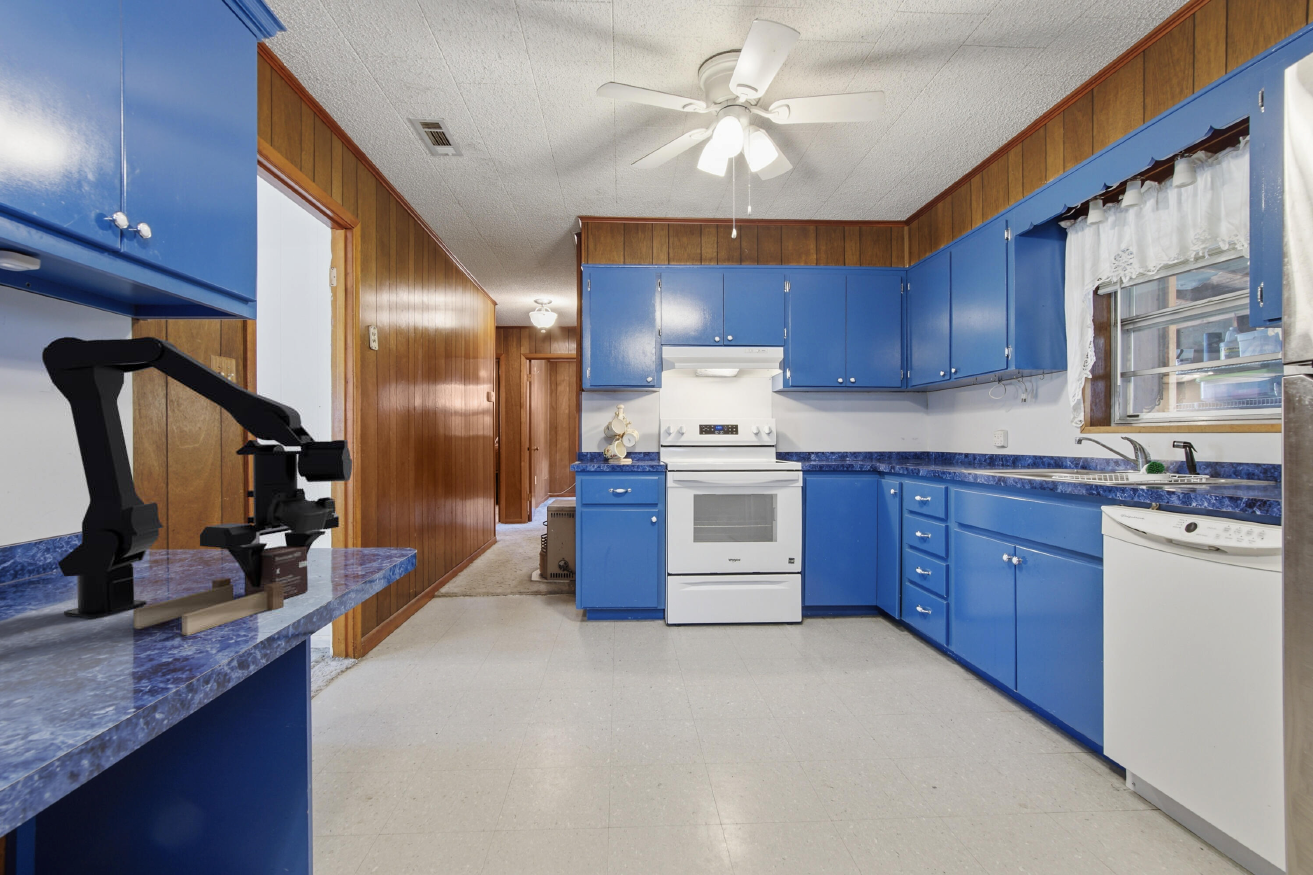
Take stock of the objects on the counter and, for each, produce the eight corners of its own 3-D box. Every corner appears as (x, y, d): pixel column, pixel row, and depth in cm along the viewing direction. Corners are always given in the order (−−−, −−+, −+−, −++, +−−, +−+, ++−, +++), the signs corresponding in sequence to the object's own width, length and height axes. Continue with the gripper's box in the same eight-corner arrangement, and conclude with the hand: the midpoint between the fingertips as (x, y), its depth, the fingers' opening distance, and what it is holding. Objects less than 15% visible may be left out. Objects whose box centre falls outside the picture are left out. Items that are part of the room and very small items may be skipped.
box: (272, 603, 81) (271, 555, 81) (243, 600, 83) (242, 552, 83) (309, 591, 87) (308, 546, 87) (281, 588, 89) (280, 544, 88)
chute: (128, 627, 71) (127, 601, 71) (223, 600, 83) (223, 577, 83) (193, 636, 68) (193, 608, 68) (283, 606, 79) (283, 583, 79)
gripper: (254, 490, 73) (255, 603, 74) (364, 479, 91) (364, 570, 91) (196, 488, 77) (197, 597, 77) (313, 478, 95) (314, 566, 95)
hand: (276, 581), depth 85 cm, fingers closed on box, 6 cm apart
